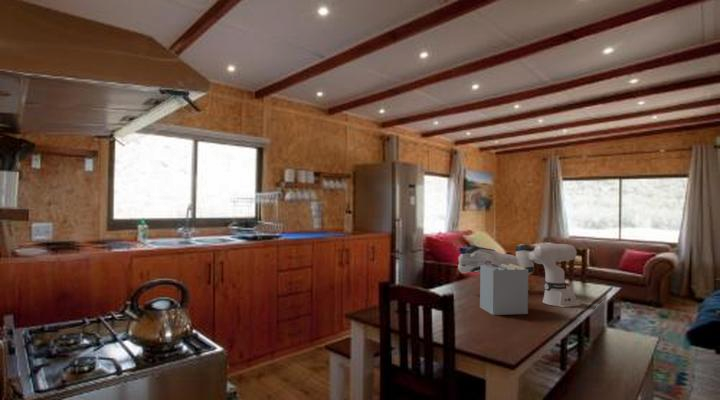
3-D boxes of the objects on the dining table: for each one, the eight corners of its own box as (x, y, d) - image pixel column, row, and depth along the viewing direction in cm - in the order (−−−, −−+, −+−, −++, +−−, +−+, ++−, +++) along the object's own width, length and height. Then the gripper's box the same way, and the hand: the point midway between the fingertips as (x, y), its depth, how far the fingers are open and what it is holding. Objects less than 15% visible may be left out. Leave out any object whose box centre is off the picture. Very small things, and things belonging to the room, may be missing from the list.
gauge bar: (478, 255, 249) (478, 251, 249) (494, 260, 229) (494, 255, 229) (474, 255, 248) (474, 251, 248) (489, 260, 228) (489, 255, 228)
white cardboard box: (512, 306, 236) (513, 263, 236) (527, 313, 220) (528, 268, 221) (479, 307, 233) (480, 264, 233) (492, 315, 217) (493, 268, 217)
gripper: (485, 265, 257) (494, 257, 245) (457, 265, 254) (465, 258, 242) (483, 256, 260) (492, 248, 248) (455, 256, 257) (463, 248, 245)
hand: (478, 253), depth 245 cm, fingers closed on gauge bar, 3 cm apart
